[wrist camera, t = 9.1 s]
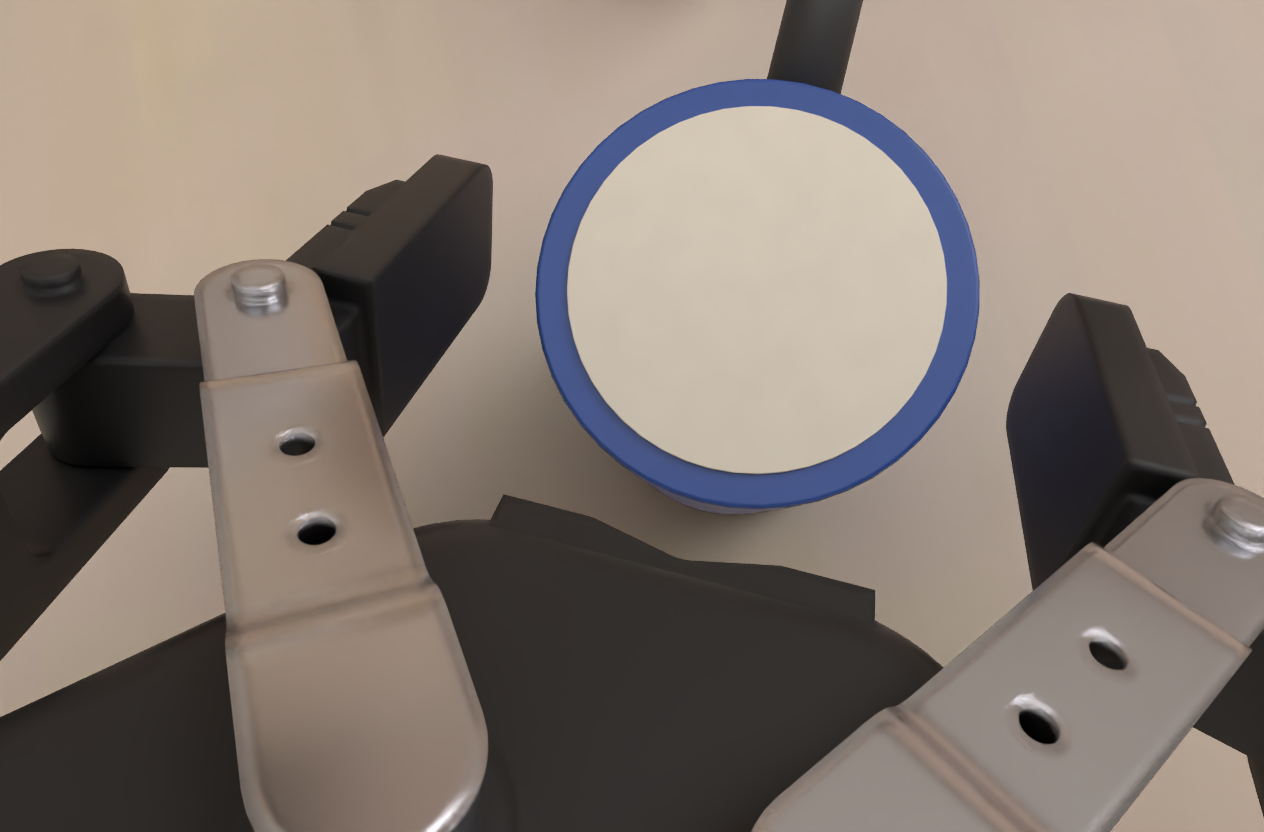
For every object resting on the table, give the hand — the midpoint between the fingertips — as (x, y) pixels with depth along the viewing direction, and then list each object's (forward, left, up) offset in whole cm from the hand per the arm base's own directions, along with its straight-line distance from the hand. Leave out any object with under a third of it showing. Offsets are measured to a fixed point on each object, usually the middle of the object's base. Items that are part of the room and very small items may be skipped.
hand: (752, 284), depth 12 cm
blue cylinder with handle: (-1, -2, -6) cm, 6 cm away
